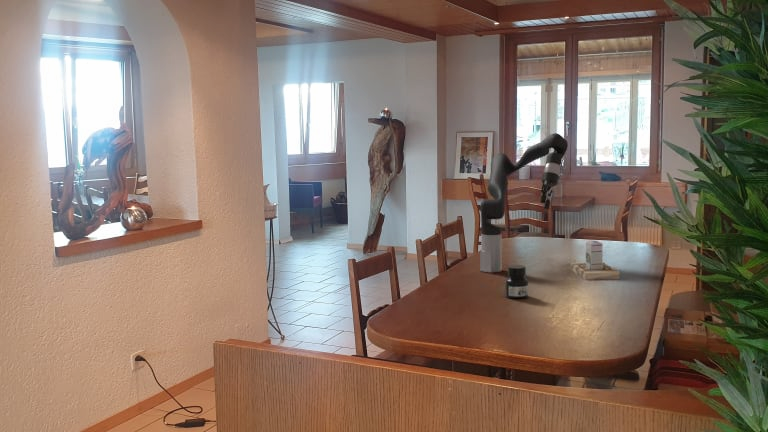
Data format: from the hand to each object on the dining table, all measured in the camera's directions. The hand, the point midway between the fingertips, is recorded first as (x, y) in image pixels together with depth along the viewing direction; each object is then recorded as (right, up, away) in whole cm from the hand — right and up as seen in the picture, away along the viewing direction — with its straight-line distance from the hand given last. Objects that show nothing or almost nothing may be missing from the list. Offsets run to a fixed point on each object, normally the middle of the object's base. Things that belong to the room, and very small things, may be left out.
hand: (544, 206), depth 330 cm
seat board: (+18, -30, -16) cm, 39 cm away
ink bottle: (-23, -36, -54) cm, 69 cm away
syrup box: (+18, -31, -16) cm, 39 cm away
